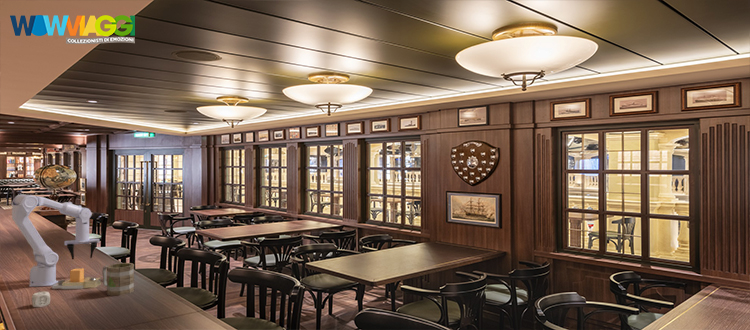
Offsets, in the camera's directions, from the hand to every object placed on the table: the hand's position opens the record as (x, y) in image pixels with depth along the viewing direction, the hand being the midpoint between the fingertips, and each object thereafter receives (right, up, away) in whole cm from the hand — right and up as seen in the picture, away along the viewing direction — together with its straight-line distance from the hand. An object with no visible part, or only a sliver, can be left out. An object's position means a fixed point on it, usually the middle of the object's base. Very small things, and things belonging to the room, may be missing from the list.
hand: (82, 258), depth 221 cm
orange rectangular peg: (+9, -10, -17) cm, 21 cm away
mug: (+31, -10, -24) cm, 41 cm away
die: (+12, -10, -43) cm, 46 cm away
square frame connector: (+9, -10, -17) cm, 21 cm away
